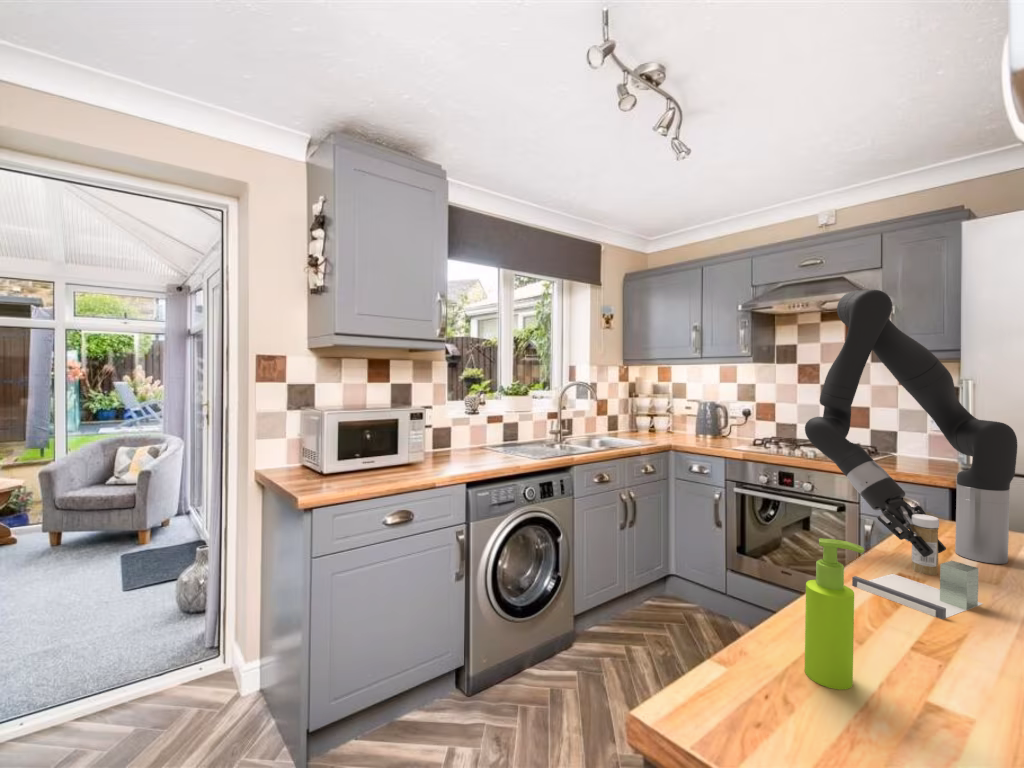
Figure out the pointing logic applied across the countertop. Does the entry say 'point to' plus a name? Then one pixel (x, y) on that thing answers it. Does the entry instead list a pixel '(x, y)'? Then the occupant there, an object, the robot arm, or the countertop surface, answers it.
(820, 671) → the soap dispenser
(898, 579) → the tray
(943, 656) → the countertop surface
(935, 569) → the spice jar
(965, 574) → the tea tin
